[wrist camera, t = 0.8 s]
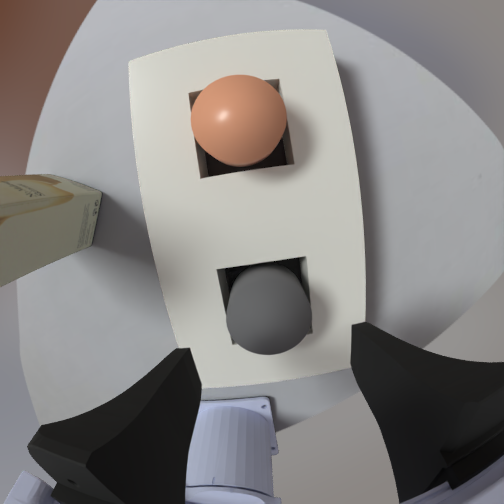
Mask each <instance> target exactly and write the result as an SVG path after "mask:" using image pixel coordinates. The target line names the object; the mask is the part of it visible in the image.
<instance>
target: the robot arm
mask: <svg viewBox="0 0 504 504" xmlns="http://www.w3.org/2000/svg"><path fill="white" fill-rule="evenodd" d="M350 364H351V367H352V370H353V373H354V376H355V379H356V381H357V384H358V386H359V388H360V390H361V392H362V393H363V395H364V397H365V399H366V401H367V403H368V405H369V407H370V409H371V411H372V413H373V415H374V416H375V418H376V421H377V423H378V425H379V427H380V430H381V433H382V436H383V439H384V442H385V444H386V448H387V451H388V454H389V457H390V461H391V465H392V469H393V473H394V477H395V481H396V487H397V492H398V497H399V504H504V362H497V363H496V362H493V363H487V362H474V361H465V360H460V359H455V358H450V357H446V356H442V355H438V354H435V353H432V352H429V351H426V350H423V349H421V348H418V347H416V346H413V345H411V344H409V343H407V342H404V341H402V340H400V339H398V338H396V337H394V336H392V335H390V334H388V333H387V332H385V331H383V330H381V329H379V328H377V327H375V326H373V325H371V324H369V323H367V322H362V323H357V324H353V325H351V360H350ZM201 391H202V383H201V380H200V377H199V374H198V371H197V368H196V365H195V362H194V359H193V356H192V353H191V349H190V348H176V349H175V350H174V351H172V352H171V353H170V354H169V355H168V356H167V357H166V358H164V359H163V360H162V361H161V362H160V363H159V364H158V365H157V366H156V367H154V368H153V369H152V370H151V371H150V372H149V373H148V374H147V375H145V376H144V377H143V378H142V379H140V380H139V381H138V382H137V383H135V384H134V385H133V386H131V387H130V388H129V389H127V390H126V391H125V392H123V393H122V394H120V395H118V396H117V397H115V398H114V399H112V400H110V401H108V402H107V403H105V404H103V405H101V406H99V407H97V408H95V409H93V410H91V411H88V412H86V413H83V414H81V415H78V416H75V417H72V418H69V419H66V420H62V421H58V422H54V423H50V424H45V425H41V427H40V428H39V430H38V431H37V432H36V434H35V435H34V437H33V438H32V440H31V441H30V443H29V444H28V446H27V447H28V450H29V453H30V455H31V456H32V457H33V459H34V460H35V461H36V462H37V463H38V464H39V465H40V466H41V467H42V468H43V469H44V470H45V471H46V472H47V473H48V474H49V475H50V476H51V477H52V478H53V479H54V480H55V481H56V482H57V484H56V486H55V488H54V489H53V488H52V487H51V486H50V485H48V484H47V483H46V482H44V481H43V480H41V479H40V478H38V477H36V476H34V475H32V474H30V473H29V472H27V471H25V470H23V471H22V473H21V474H20V476H19V478H18V479H17V481H16V483H15V484H14V486H13V488H12V489H11V491H10V493H9V495H8V496H7V498H6V500H5V502H4V504H281V498H278V497H274V494H273V476H272V459H271V455H276V454H278V445H277V440H276V434H275V429H274V423H273V417H272V412H271V406H270V400H269V398H267V397H256V398H245V399H233V400H217V401H201ZM262 405H266V406H262Z"/></svg>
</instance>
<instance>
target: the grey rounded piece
mask: <svg viewBox="0 0 504 504" xmlns="http://www.w3.org/2000/svg"><path fill="white" fill-rule="evenodd" d="M311 321H312V310H311V306H310V303H309V301H308V299H307V297H306V295H305V293H304V290H303V288H302V286H301V284H300V282H299V280H298V278H297V277H296V275H295V274H294V273H293V272H292V271H290V270H289V269H288V268H286V267H284V266H282V265H279V264H276V263H259V264H255V265H252V266H250V267H248V268H247V269H245V270H244V271H242V272H241V273H240V274H239V275H238V277H237V278H236V279H235V281H234V283H233V285H232V288H231V293H230V298H229V303H228V308H227V314H226V324H227V328H228V331H229V333H230V335H231V337H232V338H233V340H234V341H235V342H236V343H237V344H238V345H239V346H241V347H242V348H244V349H245V350H247V351H249V352H252V353H255V354H260V355H275V354H280V353H283V352H286V351H288V350H290V349H292V348H294V347H295V346H296V345H298V344H299V343H300V342H301V341H302V340H303V339H304V337H305V336H306V334H307V333H308V331H309V329H310V326H311Z"/></svg>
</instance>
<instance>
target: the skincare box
mask: <svg viewBox="0 0 504 504" xmlns="http://www.w3.org/2000/svg"><path fill="white" fill-rule="evenodd" d="M101 196H102V193H101V192H100V191H98V190H95V189H93V188H90V187H88V186H85V185H83V184H80V183H77V182H74V181H71V180H68V179H65V178H61V177H58V176H54V175H51V174H38V175H19V176H18V175H17V176H0V287H2V286H4V285H6V284H8V283H10V282H12V281H14V280H16V279H18V278H20V277H22V276H24V275H26V274H28V273H30V272H33V271H35V270H37V269H39V268H41V267H44V266H46V265H48V264H50V263H52V262H55V261H57V260H59V259H61V258H64V257H66V256H68V255H71V254H73V253H75V252H78V251H80V250H83V249H85V248H87V247H90V246H91V244H92V239H93V235H94V230H95V225H96V220H97V216H98V211H99V206H100V201H101Z"/></svg>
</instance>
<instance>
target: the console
mask: <svg viewBox="0 0 504 504" xmlns="http://www.w3.org/2000/svg"><path fill="white" fill-rule="evenodd" d="M230 75H250V76H254V77H257V78H260V79H262V80H264V81H266V82H267V83H269V84H270V85H271V86H272V87H274V88H275V89H276V91H277V92H278V93H279V94H280V96H281V98H282V99H283V102H284V104H285V108H286V113H287V122H286V128H285V131H284V133H283V135H282V137H283V143H284V149H285V155H286V161H287V165H285V166H277V167H269V168H262V169H255V170H248V171H242V172H235V173H229V174H223V175H218V176H212V177H209V175H208V169H207V162H206V156H205V150H204V149H203V148H202V147H201V146H200V145H199V143H198V142H197V140H196V138H195V137H194V134H193V131H192V127H191V112H192V108H193V105H194V102H195V100H196V99H197V97H198V96H199V94H200V93H201V92H202V91H203V90H204V88H206V87H207V86H208V85H209V84H211V83H212V82H214V81H216V80H218V79H220V78H223V77H226V76H230ZM129 89H130V106H131V119H132V130H133V139H134V148H135V156H136V164H137V171H138V178H139V185H140V191H141V197H142V203H143V208H144V214H145V219H146V224H147V229H148V234H149V239H150V243H151V248H152V253H153V257H154V261H155V265H156V270H157V274H158V278H159V282H160V285H161V289H162V293H163V297H164V300H165V304H166V308H167V311H168V315H169V318H170V321H171V325H172V328H173V331H174V334H175V338H176V341H177V344H178V347H179V348H190V349H191V353H192V356H193V359H194V362H195V365H196V368H197V371H198V374H199V377H200V380H201V383H202V388H218V387H232V386H244V385H253V384H262V383H270V382H278V381H285V380H291V379H298V378H303V377H309V376H315V375H320V374H325V373H330V372H334V371H339V370H343V369H348V368H352V367H351V364H350V360H351V325H353V324H357V323H362V322H365V311H366V272H365V244H364V228H363V215H362V204H361V194H360V185H359V177H358V169H357V162H356V155H355V149H354V143H353V137H352V131H351V126H350V121H349V116H348V111H347V106H346V101H345V97H344V93H343V88H342V84H341V80H340V76H339V72H338V69H337V65H336V61H335V58H334V54H333V51H332V47H331V44H330V41H329V38H328V35H327V32H326V30H275V31H261V32H251V33H243V34H235V35H229V36H222V37H217V38H211V39H206V40H201V41H196V42H192V43H188V44H184V45H180V46H176V47H172V48H168V49H165V50H161V51H158V52H155V53H152V54H148V55H145V56H142V57H139V58H137V59H134V60H131V61H129ZM297 257H299V260H300V270H301V279H302V288H303V290H304V293H305V295H306V297H307V299H308V301H309V303H310V306H311V310H312V321H311V326H310V329H309V331H308V333H307V334H306V336H305V337H304V339H303V340H302V341H301V342H300V343H299V344H298V345H296V346H295V347H294V348H292V349H290V350H288V351H286V352H283V353H280V354H275V355H260V354H255V353H252V352H249V351H247V350H245V349H244V348H242V347H241V346H239V345H238V344H237V343H236V342H235V341H234V340H233V338H232V337H231V335H230V333H229V331H228V328H227V324H226V314H227V308H228V303H229V298H230V294H229V289H228V284H227V279H226V273H225V268H229V267H236V266H242V265H249V264H256V263H263V262H270V261H277V260H283V259H290V258H297Z"/></svg>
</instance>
